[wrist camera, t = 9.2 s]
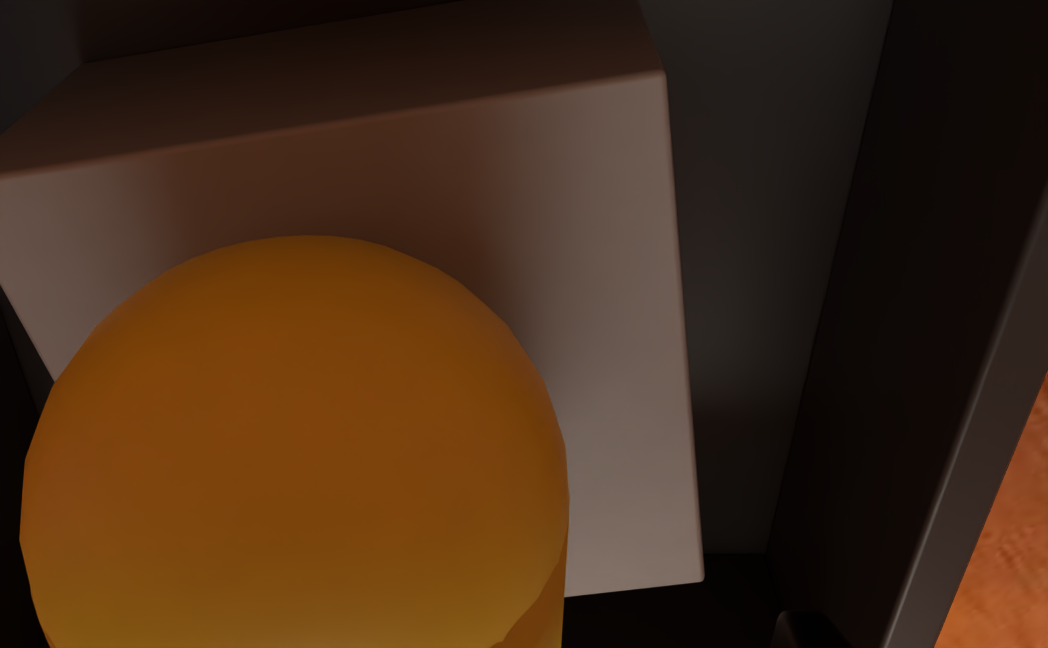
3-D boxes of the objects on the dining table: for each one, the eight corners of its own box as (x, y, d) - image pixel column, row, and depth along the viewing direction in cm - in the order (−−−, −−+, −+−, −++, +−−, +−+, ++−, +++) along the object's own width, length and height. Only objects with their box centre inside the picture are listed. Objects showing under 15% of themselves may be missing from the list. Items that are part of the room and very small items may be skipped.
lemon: (130, 132, 10) (-244, 443, 6) (601, 165, 10) (549, 527, 6) (236, 591, 15) (59, 963, 10) (569, 631, 14) (525, 1038, 10)
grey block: (628, -30, 13) (666, 69, 10) (669, 413, 18) (705, 583, 14) (78, 62, 14) (-60, 184, 10) (253, 465, 18) (195, 640, 15)
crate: (1006, -298, 12) (1321, -284, 7) (789, 558, 21) (868, 812, 16) (-255, -322, 12) (-767, -324, 7) (68, 555, 20) (-63, 812, 16)
